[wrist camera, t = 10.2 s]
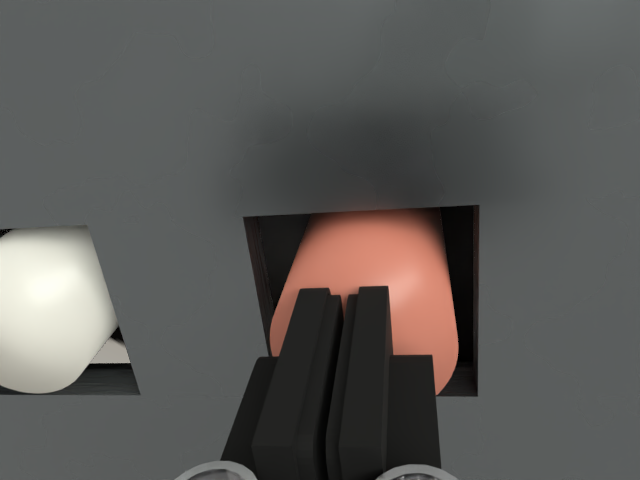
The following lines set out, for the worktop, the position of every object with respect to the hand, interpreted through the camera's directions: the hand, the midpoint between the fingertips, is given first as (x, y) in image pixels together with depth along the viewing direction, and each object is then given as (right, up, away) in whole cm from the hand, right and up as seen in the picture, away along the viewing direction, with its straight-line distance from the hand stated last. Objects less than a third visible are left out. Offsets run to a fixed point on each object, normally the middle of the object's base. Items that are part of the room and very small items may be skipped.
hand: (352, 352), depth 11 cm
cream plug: (-7, +3, +7) cm, 10 cm away
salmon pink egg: (+1, +3, +5) cm, 6 cm away
